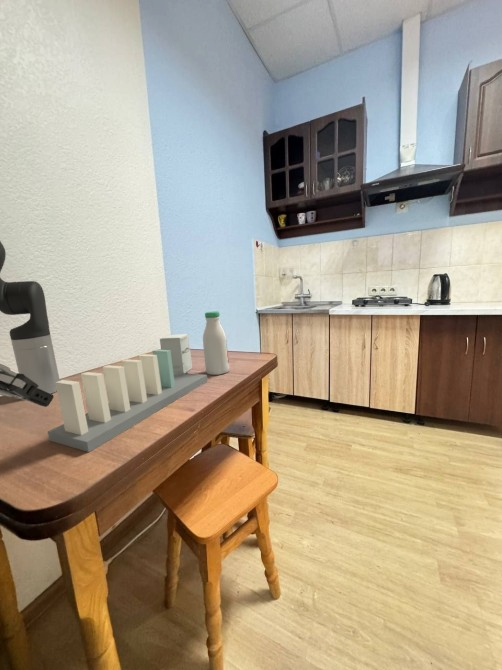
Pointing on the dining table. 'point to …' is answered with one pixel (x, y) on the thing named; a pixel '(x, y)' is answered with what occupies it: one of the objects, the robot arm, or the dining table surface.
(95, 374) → the domino
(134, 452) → the dining table surface
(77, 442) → the board
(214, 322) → the milk bottle
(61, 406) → the domino
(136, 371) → the domino
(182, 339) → the supplement box
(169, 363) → the domino
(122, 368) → the domino
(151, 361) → the domino
